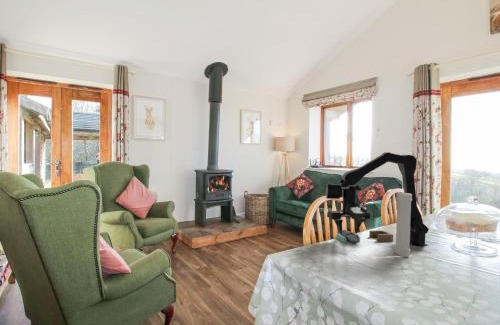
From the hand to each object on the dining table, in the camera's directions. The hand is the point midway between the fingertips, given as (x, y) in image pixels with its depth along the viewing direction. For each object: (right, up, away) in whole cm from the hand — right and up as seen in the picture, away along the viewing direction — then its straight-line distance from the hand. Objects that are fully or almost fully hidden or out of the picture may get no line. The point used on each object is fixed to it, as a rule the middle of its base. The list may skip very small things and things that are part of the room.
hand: (348, 233), depth 130 cm
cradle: (0, -3, 0) cm, 3 cm away
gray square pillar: (+15, -4, -17) cm, 23 cm away
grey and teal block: (0, -3, -2) cm, 3 cm away
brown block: (+15, -4, +2) cm, 16 cm away
